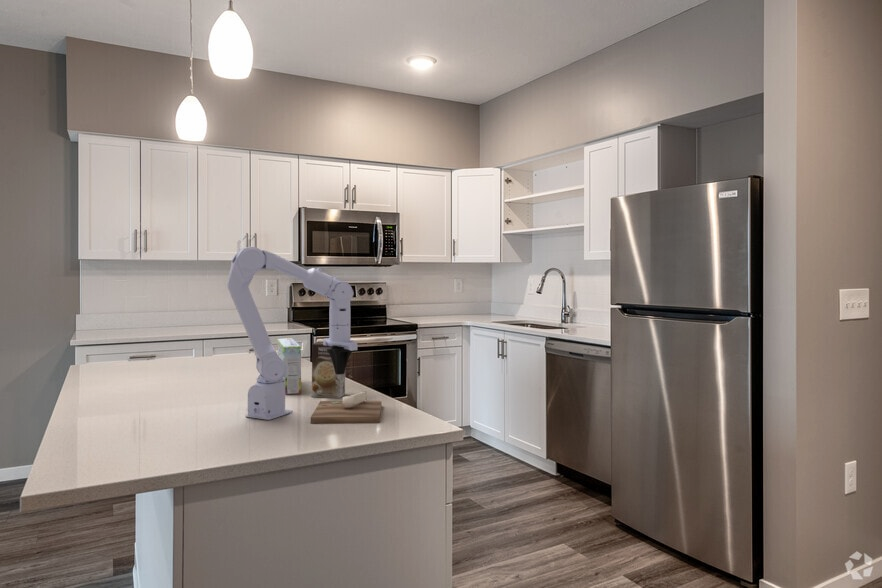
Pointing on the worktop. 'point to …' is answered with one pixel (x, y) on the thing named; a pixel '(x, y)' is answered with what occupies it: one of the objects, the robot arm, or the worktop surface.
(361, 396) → the white bulb ended bar
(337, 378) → the coffee box
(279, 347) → the snack box
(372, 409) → the board
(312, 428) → the worktop surface
